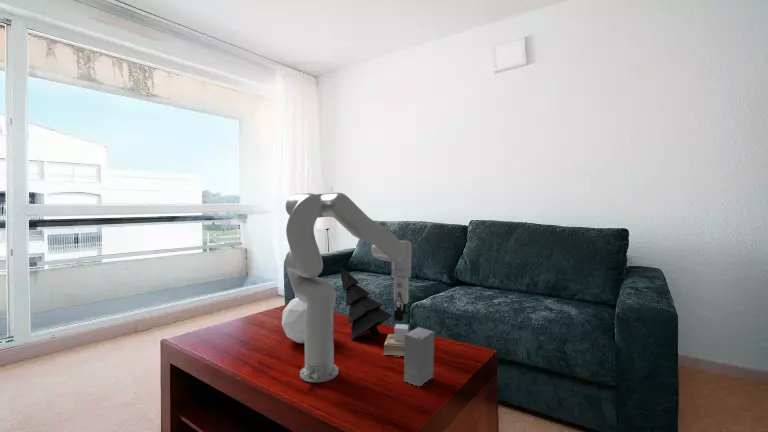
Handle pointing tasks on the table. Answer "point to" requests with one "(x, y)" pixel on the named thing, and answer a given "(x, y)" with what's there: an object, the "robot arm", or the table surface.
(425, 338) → the skincare box
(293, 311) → the geometric sculpture
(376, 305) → the decorative tree
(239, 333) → the table surface
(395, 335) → the block
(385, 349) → the plinth
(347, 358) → the table surface
